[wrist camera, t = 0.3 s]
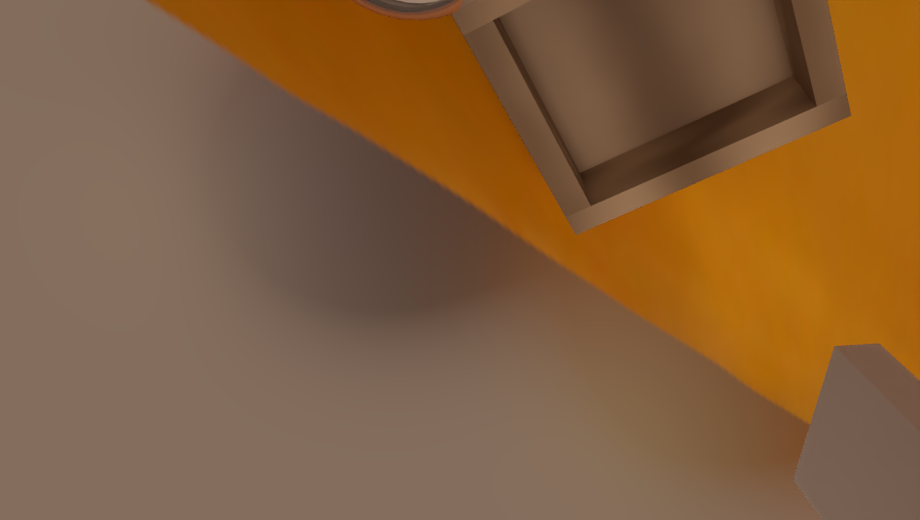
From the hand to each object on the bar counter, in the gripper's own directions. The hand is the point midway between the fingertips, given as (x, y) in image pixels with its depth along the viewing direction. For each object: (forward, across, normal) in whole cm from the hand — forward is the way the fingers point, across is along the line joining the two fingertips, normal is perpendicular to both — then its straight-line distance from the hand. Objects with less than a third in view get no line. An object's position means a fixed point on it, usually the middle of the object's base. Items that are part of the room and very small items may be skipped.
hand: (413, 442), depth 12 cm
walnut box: (+25, +12, +2) cm, 28 cm away
